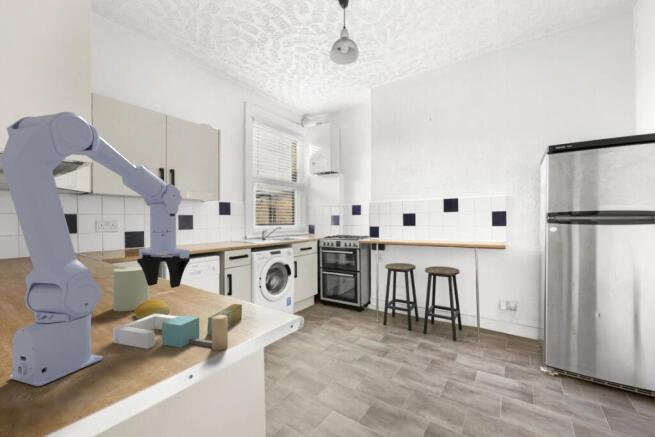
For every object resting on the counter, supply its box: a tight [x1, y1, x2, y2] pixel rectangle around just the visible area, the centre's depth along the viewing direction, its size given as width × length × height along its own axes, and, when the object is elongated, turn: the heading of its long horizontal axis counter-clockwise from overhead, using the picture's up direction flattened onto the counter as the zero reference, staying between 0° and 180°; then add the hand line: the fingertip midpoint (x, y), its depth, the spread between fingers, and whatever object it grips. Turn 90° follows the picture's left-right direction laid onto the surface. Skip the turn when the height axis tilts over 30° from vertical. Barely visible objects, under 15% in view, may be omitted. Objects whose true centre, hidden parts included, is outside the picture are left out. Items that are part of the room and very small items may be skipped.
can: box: [112, 265, 150, 312], centre depth 87 cm, size 9×9×12 cm
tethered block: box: [161, 315, 229, 351], centre depth 60 cm, size 5×14×6 cm, turn 71°
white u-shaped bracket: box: [112, 314, 179, 350], centre depth 64 cm, size 10×10×3 cm
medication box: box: [206, 303, 243, 336], centre depth 70 cm, size 12×3×4 cm, turn 171°
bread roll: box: [133, 299, 171, 320], centre depth 79 cm, size 8×9×4 cm
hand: (163, 285), depth 72 cm, fingers open, 7 cm apart
